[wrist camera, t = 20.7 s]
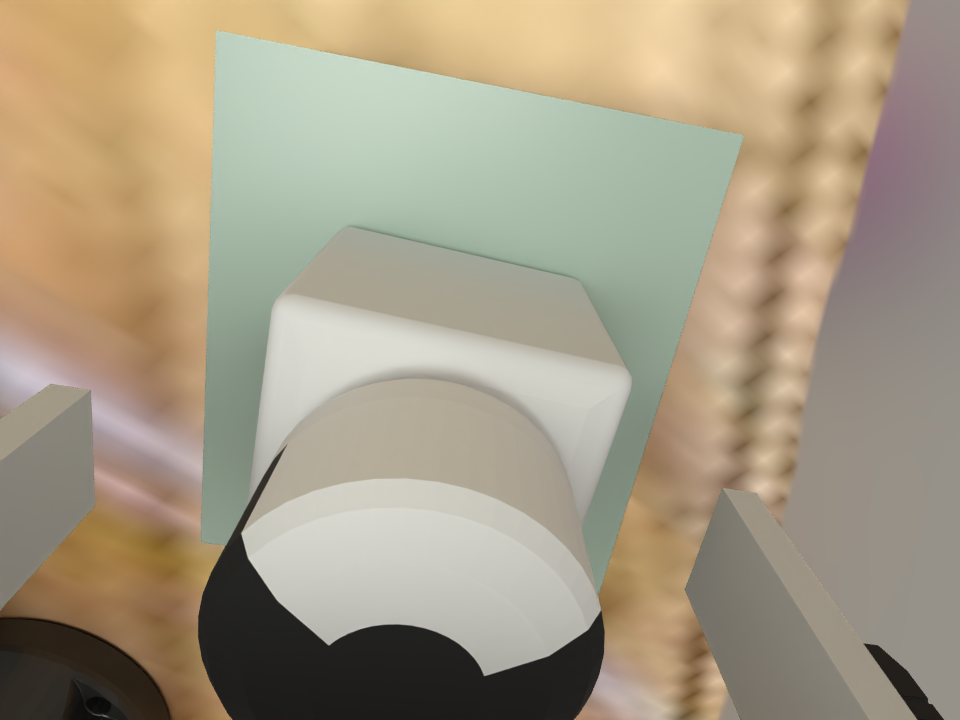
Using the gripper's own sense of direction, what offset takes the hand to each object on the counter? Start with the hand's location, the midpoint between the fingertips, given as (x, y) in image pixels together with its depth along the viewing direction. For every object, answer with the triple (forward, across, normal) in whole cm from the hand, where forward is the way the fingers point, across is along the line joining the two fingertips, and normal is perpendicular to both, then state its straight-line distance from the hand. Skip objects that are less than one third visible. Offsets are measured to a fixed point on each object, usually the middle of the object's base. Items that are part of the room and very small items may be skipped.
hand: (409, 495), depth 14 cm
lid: (+8, 0, 0) cm, 8 cm away
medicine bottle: (+7, 0, 0) cm, 7 cm away
